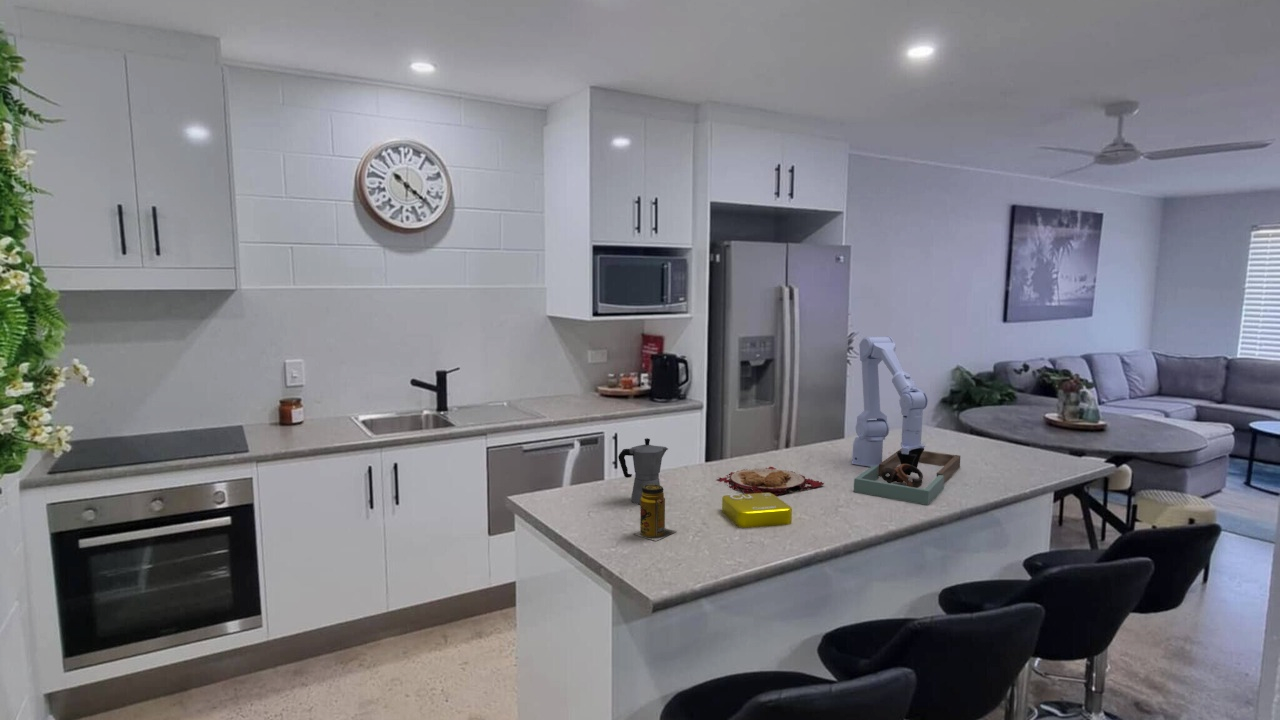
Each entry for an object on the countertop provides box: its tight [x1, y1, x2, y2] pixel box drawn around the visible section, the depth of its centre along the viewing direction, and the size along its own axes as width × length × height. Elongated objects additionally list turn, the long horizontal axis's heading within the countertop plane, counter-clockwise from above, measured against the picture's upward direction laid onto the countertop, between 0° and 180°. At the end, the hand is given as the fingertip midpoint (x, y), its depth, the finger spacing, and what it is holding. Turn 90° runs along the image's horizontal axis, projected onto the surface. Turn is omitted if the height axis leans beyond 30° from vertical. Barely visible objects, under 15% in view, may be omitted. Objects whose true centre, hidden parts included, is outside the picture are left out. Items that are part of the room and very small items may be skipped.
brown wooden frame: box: [878, 447, 961, 484], centre depth 227 cm, size 19×28×4 cm
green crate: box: [853, 465, 945, 506], centre depth 207 cm, size 21×20×4 cm
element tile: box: [721, 493, 793, 529], centre depth 182 cm, size 15×15×5 cm
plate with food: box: [716, 466, 825, 497], centre depth 214 cm, size 25×26×4 cm
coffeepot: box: [617, 437, 669, 506], centre depth 194 cm, size 15×9×18 cm, turn 116°
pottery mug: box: [880, 464, 924, 488], centre depth 209 cm, size 12×10×8 cm
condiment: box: [634, 484, 677, 542], centre depth 169 cm, size 7×8×12 cm
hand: (909, 472), depth 216 cm, fingers open, 7 cm apart
